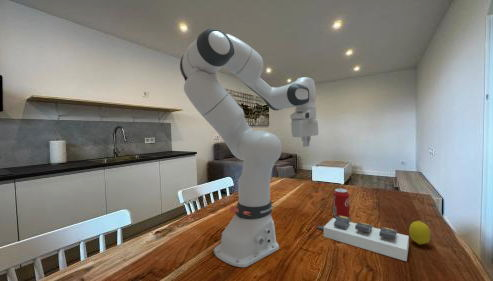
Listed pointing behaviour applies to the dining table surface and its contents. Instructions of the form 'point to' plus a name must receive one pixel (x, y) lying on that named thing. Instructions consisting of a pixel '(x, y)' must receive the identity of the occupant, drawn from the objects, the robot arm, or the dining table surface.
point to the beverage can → (341, 203)
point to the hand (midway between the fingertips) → (306, 146)
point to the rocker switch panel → (368, 240)
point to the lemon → (419, 232)
